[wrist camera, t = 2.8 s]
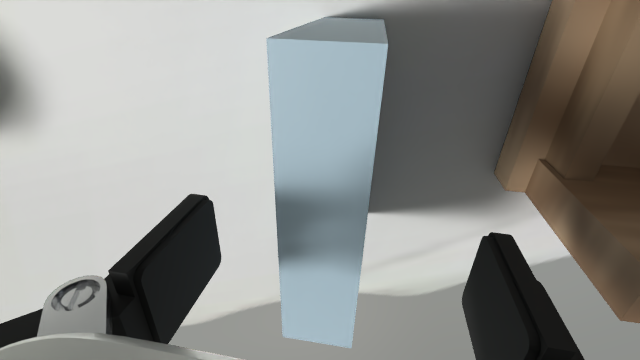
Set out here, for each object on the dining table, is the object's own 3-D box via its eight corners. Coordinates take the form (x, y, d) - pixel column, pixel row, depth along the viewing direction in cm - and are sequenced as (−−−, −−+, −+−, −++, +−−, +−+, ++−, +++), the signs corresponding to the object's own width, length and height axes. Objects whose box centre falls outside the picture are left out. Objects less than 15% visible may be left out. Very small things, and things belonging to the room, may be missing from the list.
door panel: (325, 17, 17) (266, 37, 8) (383, 19, 16) (388, 43, 8) (319, 207, 23) (282, 336, 14) (362, 212, 22) (351, 348, 14)
